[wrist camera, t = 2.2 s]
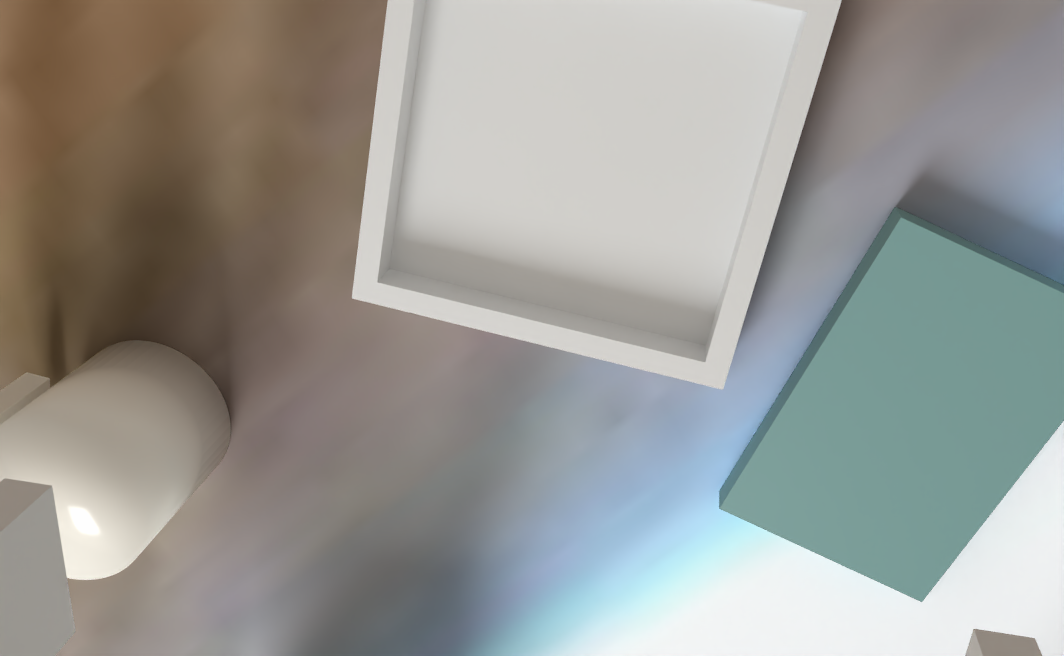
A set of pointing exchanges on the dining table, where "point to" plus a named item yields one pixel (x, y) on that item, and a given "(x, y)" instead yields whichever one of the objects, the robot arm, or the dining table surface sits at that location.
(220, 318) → the dining table surface
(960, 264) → the teal notebook
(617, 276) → the tray
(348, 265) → the dining table surface
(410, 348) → the dining table surface
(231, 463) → the dining table surface
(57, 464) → the mug
